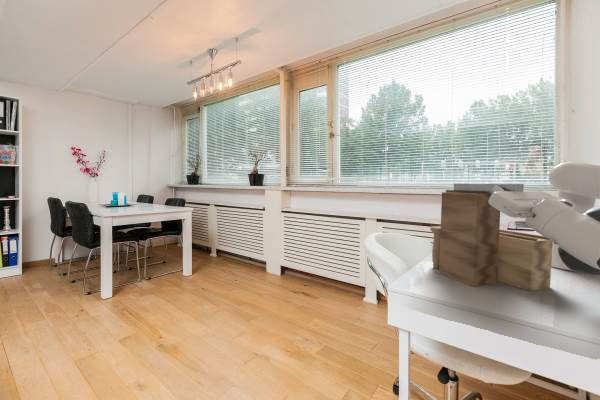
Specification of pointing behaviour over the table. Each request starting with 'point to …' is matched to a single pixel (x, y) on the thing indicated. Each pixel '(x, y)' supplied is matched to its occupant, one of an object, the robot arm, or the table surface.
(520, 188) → the bar
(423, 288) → the table surface
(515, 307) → the table surface
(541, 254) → the light wood grain block
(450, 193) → the tall wood grain block
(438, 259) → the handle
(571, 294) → the table surface
